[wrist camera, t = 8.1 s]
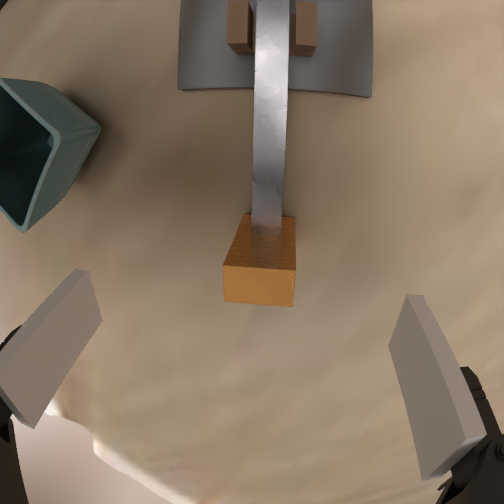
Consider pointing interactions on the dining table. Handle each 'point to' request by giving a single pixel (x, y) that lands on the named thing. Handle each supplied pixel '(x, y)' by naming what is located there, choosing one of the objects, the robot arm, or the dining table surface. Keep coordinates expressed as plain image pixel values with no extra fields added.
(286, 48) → the lock pin
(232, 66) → the dock
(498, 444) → the robot arm
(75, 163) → the flower pot
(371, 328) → the dining table surface
